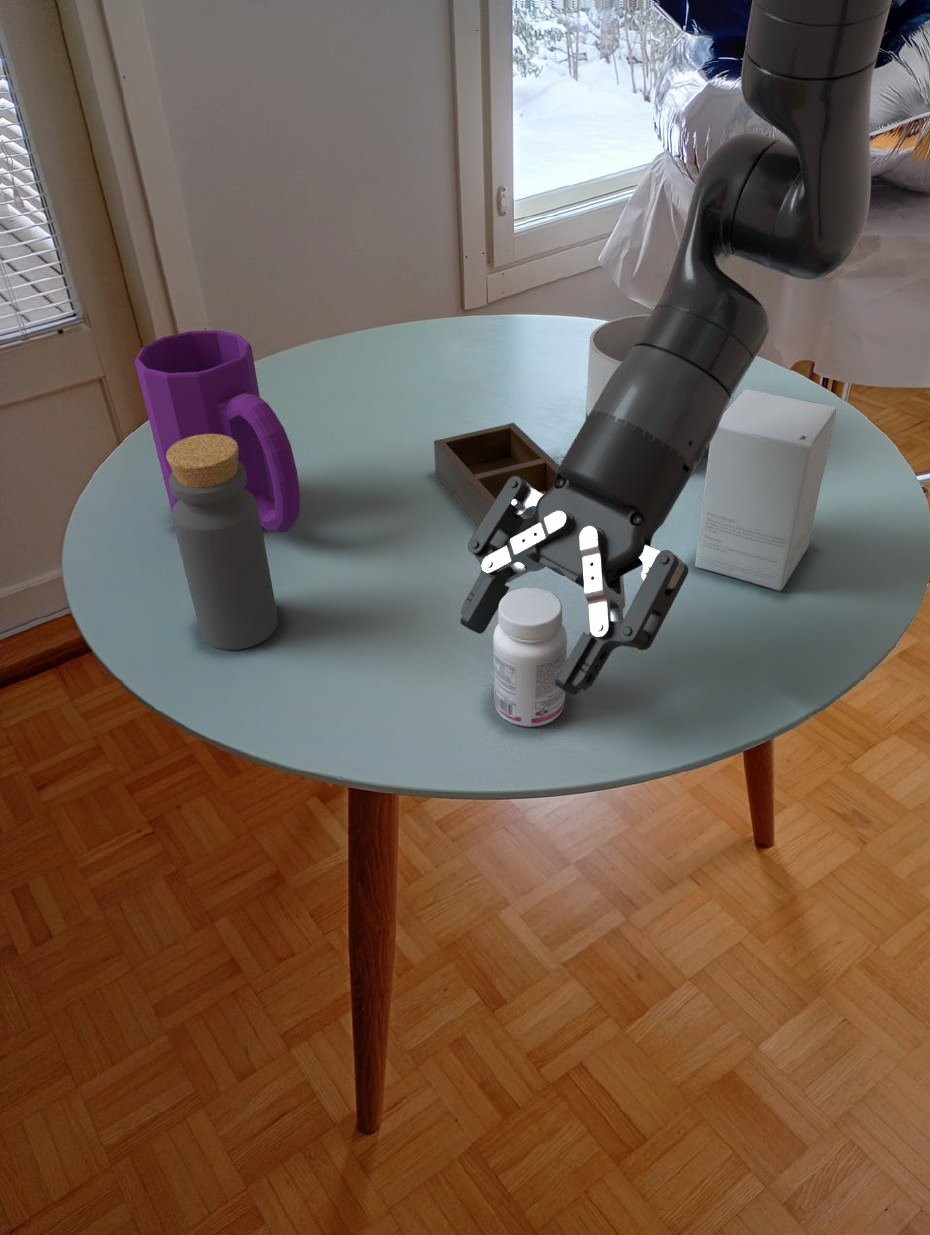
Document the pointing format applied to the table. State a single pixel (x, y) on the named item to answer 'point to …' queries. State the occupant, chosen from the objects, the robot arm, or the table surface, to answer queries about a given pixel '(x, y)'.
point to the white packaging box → (763, 487)
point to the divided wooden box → (491, 467)
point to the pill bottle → (529, 657)
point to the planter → (610, 353)
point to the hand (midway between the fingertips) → (516, 658)
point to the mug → (220, 414)
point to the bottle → (221, 542)
